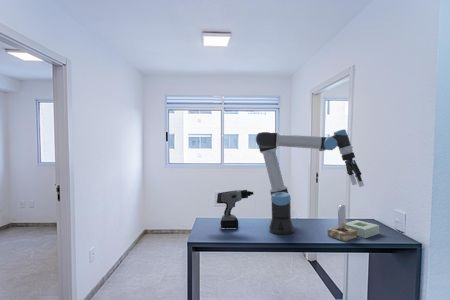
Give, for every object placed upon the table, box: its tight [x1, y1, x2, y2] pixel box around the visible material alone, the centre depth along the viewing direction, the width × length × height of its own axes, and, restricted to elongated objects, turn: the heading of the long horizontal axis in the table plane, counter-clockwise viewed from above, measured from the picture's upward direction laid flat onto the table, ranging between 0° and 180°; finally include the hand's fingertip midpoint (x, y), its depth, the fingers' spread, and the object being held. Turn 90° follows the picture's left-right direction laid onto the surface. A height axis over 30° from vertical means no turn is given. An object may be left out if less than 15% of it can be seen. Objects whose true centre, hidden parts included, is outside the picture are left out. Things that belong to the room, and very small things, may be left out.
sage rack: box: [346, 219, 380, 239], centre depth 164 cm, size 14×14×5 cm
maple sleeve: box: [327, 225, 358, 242], centre depth 158 cm, size 11×11×4 cm
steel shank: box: [337, 204, 347, 232], centre depth 158 cm, size 4×4×18 cm
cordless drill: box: [216, 189, 254, 229], centre depth 179 cm, size 8×24×25 cm, turn 89°
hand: (358, 185), depth 172 cm, fingers open, 13 cm apart
